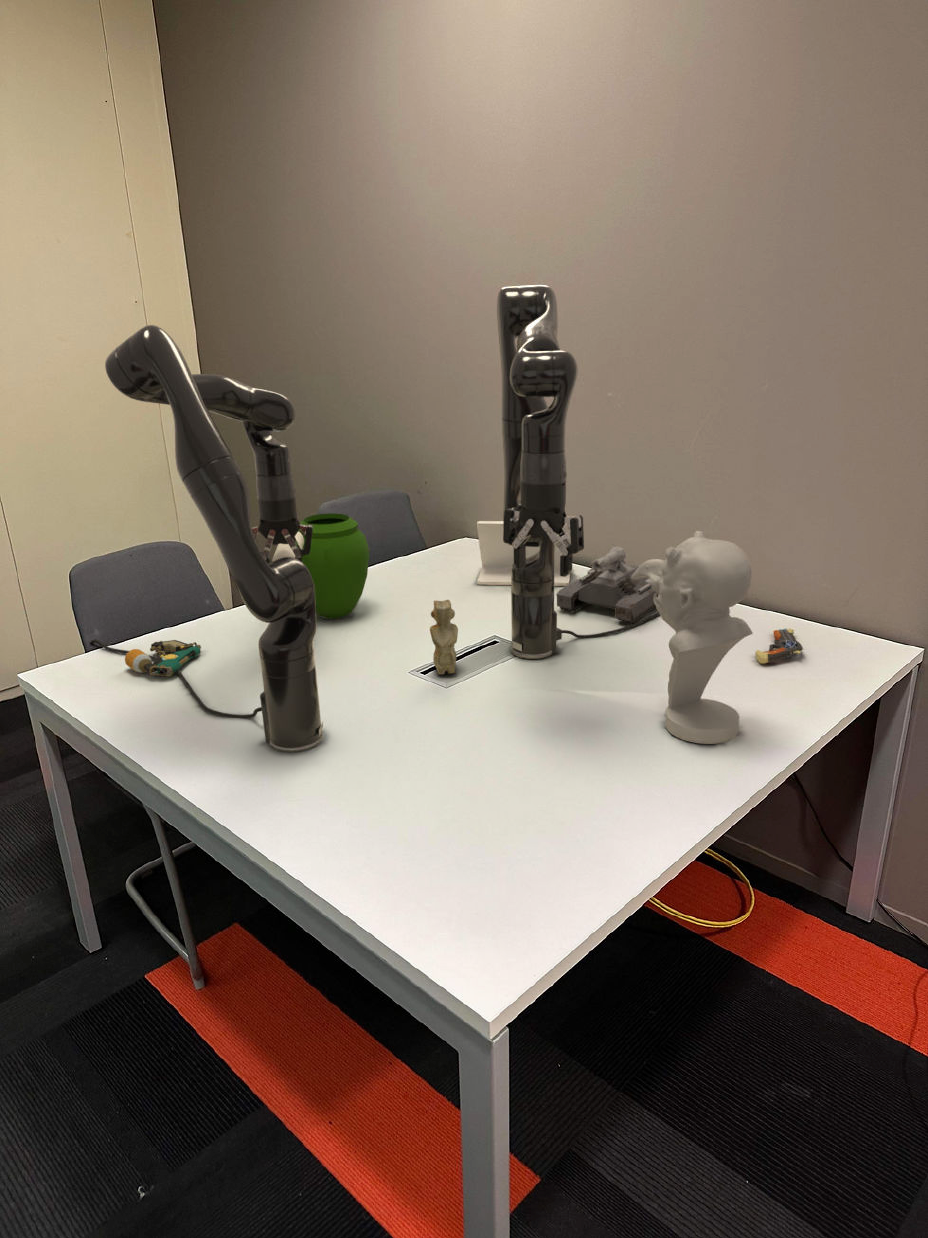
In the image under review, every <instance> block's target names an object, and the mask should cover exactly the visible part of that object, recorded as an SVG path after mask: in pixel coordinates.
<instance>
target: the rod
mask: <svg viewBox="0 0 928 1238" xmlns="http://www.w3.org/2000/svg"><path fill="white" fill-rule="evenodd" d="M295 538H296V540H297V542H298V545H299V547H300V548H301V549H302V548H303V545H304V538H303V536H302V534H301V533H300V532H299V531H298V533H297V534H296V536H295ZM276 546H277V547H276V548H275V552H274V555H273V557H272V559H271V562H273V561H275V560H278V559H281V558H285V557H292V558H295V554H294V553H293V551H292V549H291V548H290V546H289V544H277V545H276Z"/></svg>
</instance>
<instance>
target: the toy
mask: <svg viewBox="0 0 928 1238" xmlns="http://www.w3.org/2000/svg"><path fill="white" fill-rule="evenodd" d="M626 557H627V556H626V551H625V549H624V548H622V547H621V546H614V547H612V548H611V549H610V550H609V552H608V553H607V554H605V555H604V556H601V557H599V558H598V559H597V557H596V558H594V559H593V560H592V561H590V562H589V563H590V564H591V565H592V567H591V568H590V569H589V570H587V573H586V575H584V576H582V577H580V578H578V579H577V580H575V581H573V582H570V583H569V585H567V586H563V587H562V588H560V589H559V590H558V591H557V592H556V607H558V608H559V609H560V610H562V611H566V612H572V613H575V612H577V611H579V610H581V609H582V608H585V607H586V606H588V605H592V606H598V607H602V608H603V607H604V608H609V609H613V610H614V618H615V619H617V620H618V621H621V622H626V623H630V624H633V623H636V622H637V621H638V620H640V619H641V618H642V617H644V616H645V615H647V614H648V613H650V612H651V611H652V610H654V609H655V608H656V605H655V604H654V600H653V597H654V594H655V593H656V592H655V591H654V590H653V589H652V587H651V583H650V579H649V578H647V577H644V578H640V579H635V580H634V579H632V578H631V576H632V575H633V574H634V573H635V571H636V570H637V569H638V568H639V566H635V565H629V564H628V563H627V562H626V561H625V559H626Z"/></svg>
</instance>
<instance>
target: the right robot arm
mask: <svg viewBox="0 0 928 1238" xmlns="http://www.w3.org/2000/svg"><path fill="white" fill-rule="evenodd" d="M496 318H497V332H498V333H497V334H498V344H499V356H500V368H501V434H502V436H501V437H502V449H503V450H502V451H503V466H504V467H503V468H504V469H503V470H504V473H503V474H504V485H503V487H504V488H503V490H504V491H503V518H502V519H503V520H502V521H503V541H504V543H507V544H508V545H510V546H513V549H514V563H513V565H512V567H511V585H510V588H511V589H510V597H511V599H510V603H511V604H510V606H511V607H510V609H511V610H510V615H511V617H510V618H511V621H510V622H511V643H510V644H511V646H510V651H511V653H512V655H513V656H515V657H518V658H521V659H525V660H526V659H527V660H540V659H545V658H548V657H550V656H552V655H557V654H558V653H557V650H558V649H557V648H558V647H557V645H558V644H557V643H558V641H561V640H562V639H563V634H567V635H571V636H573V637H574V638H578V639H593V638H599V637H604V636H607V635H613V634H616V633H620V632H623V631H627V630H629V629H632V628H633V627H636V626H640V625H641V624H644V623H645V622H647V621H649V620H652V619H653V618H655V617H658V616H659V615H660V614H659V612H658V611H657V612H655V613H653V614H651V615H649V616H647V617H644V618H643V619H641V620H639V621H638V620H637V621H635V622H634V623H630V624H628V625H626V626H623V627H621V628H617V629H613V630H608V631H604V632H598V633H593V634H577V633H576V632H574V631H572V630H567V629H561V628H559V627H558V613H557V612H556V611H555V586H554V557H555V545H556V546H557V547H558V549H559V550H560V552H561V554H562V555H561V556H560V576H562V577H565V576H567V575H569V573H570V574H571V573H572V571H573V558H574V557H573V556H574V555H576V554H578V553H579V552H581V551H584V549H585V533H584V532H585V531H584V530H585V529H584V517H583V515H582V514H578V515H575V516H574V515H573V516H571V515H567V513H566V504H567V503H566V502H567V501H566V500H567V477H568V476H567V475H568V474H567V459H566V458H567V457H566V450H565V449H566V424H567V423H566V422H567V415H568V410H569V406H570V404H571V403H570V402H571V399H572V395H573V393H574V390H575V386H576V383H577V377H578V371H579V370H578V364H577V360H576V358H575V356H574V355H573V354H572V353H571V352H569V351H568V350H561V349H560V345H559V341H558V328H559V327H558V326H559V325H558V324H559V321H558V301H557V297H556V293H555V292H554V290H553V288H552V287H550V286H548V285H544V284H535V285H534V284H533V285H515V286H513V285H511V286H503V287H501V288H500V290H499V291H498V295H497V300H496ZM516 339H517V340H516ZM545 398H553V401H552V402H551V404H550V405H548V403H547V400H546V399H545ZM565 524H567V525H568V529H570V540H569V536H568V534H567V533H566V531H565V530H564V528H563V526H564V525H565ZM557 534H558V535H559V536H558V535H557ZM526 547H539V552H537V553H536V554H534V555H532V556H530V557H527V558H526Z"/></svg>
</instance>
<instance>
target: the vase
mask: <svg viewBox="0 0 928 1238" xmlns="http://www.w3.org/2000/svg"><path fill="white" fill-rule="evenodd" d="M299 523H300V524H302V525H309V524H311V525H313V533H312V541H311V549H310V553H309V554H308V555H304V556H303V557H302V561H303V564H304V565H305V566H306V567H307V569H308V570H309V572H310V574H311V577H312V579H313V583H314V589H315V601H316V616H318V617H320V618H324V619H326V620H327V619H329V620H336V619H341V618H345V617H347V616H349V615H350V614H351V613H352V612H353V611H354V610H355V608H356V607H357V605H358V604H359V601H360V599H361V597H362V595H363V592H364V588H365V586H366V581H367V578H368V570H369V561H370V560H369V559H370V548H369V545H368V541H367V537H366V535H365V534H364V533H363V532H362V531H361V530H360V529H359V527H358V524H359V523H358V521H356V520H355V519H353V518H352V517H350V516H349V515H347V514H344V513H335V512H334V513H333V512H331V513H320V514H313V515H310V516H307V517H305V518H303V519H302V520H301V521H299ZM299 532H300V533H301V534H302V531H301V530H299ZM302 536H303V538H304V545H303V548H304V546H305V538H306V536H304V535H303V534H302Z"/></svg>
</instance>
